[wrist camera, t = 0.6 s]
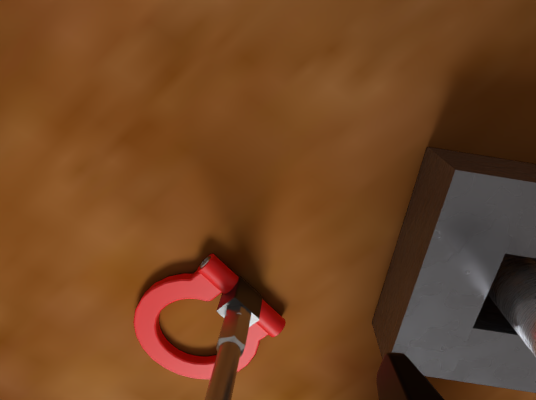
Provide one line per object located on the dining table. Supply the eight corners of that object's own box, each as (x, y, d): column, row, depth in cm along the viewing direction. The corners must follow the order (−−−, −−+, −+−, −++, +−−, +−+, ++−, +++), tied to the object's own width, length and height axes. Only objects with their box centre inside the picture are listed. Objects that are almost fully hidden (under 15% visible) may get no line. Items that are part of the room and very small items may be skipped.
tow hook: (203, 384, 30) (296, 322, 27) (135, 620, 18) (288, 559, 15) (115, 313, 28) (206, 237, 25) (-25, 528, 16) (113, 435, 13)
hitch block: (550, 350, 26) (593, 401, 23) (372, 322, 26) (385, 369, 23) (643, 181, 22) (715, 211, 18) (426, 146, 22) (455, 169, 18)
